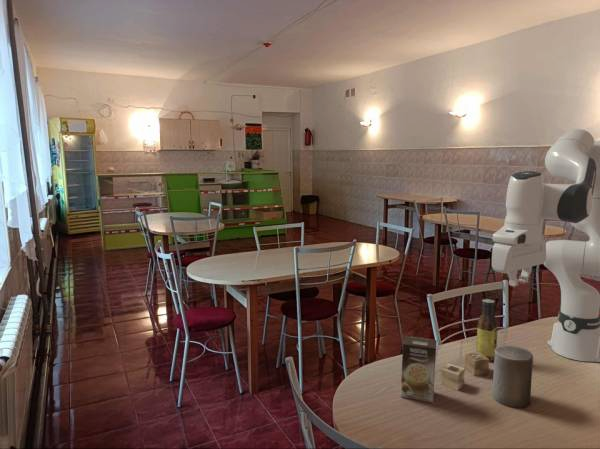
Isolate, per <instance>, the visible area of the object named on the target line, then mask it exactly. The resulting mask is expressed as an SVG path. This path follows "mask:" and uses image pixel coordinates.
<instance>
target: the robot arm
mask: <svg viewBox="0 0 600 449" xmlns="http://www.w3.org/2000/svg"><path fill="white" fill-rule="evenodd" d="M594 138H595V137H594V136H593V135H592V134H591V132H589V131H588V130H586V129H581V128H576V129H571V130H568V131H567V132H565V133H564V134H562V135H561V136H560V137H559V138H558V139H556V141H555V142H554V143H553V144H552V145H551V146H550V148H549V149H548V150H547V152H546V155H545V158H544V166H545V168H546V171H547V172H548V173H549V175H551V176H552V177H554V178H556V179H557V180H559V181H566V182H567V181H568V182H574V183H567V184H563V183H544V175H543V173H541V172H538V171H531V170H528V171H525V170H524V171H518V172H514V173H513V174H512V175H510V177H509V180H508V185H507V189H506V196H505V209H506V216H505V218H504V222H503V223H504V225H503V226H502V227H501V228H500V229H498V230H497V231H495V232H494V233H493V234H492V239H491V240H492V242H494V243H493V246H492V252H491V267H492V269H493V271H494V272H497V273H501V274H506V275H507V277H508V280H509V281H508V285H509V286H511V287H516V286H519V284H527V283H528V282H529V278H530V274H531V273H532V270H533V267H535V266H539V265H543V266H544V267H545V268H546V269H548V270H549V271H550V272H551V273H552V274H553V275H554V276H555V278H556V280H557V282H558V284H559V288H560V309H559V310H558V315H557V317H558V318H557V320H558V321H556V322H554V324H553V328H552V333H551V339H549V340H547V343H546V344H547V345H548V346H550V348H551V350H552V351H553V352H554V353H556V354H557V355H559V356H562V357H564V358H567V359H570V360H575V361H579V362H595V363H600V292H599V291H598V290H597V288H595V287H594V286H592V285H590V284H589V283H587V282H586V281H584V280H583V279H582V278H581V276H580V275H588V276H594V277H595V276H596V277H600V141H599V140H595V139H594ZM543 220H551V221H552V220H553V221H560V222H561V221H562V222H564V223H565V222H566V223H570V225H571V226H572V227H573V228H575V229H577V230H578V231H580V232H582V233H585V234H586V236H588V239H589V240H587V241H583V240H572V239H571V240H570V239H553V240H548V241H546V239H545V237H544V236H545V235H544V234H543V232H542V227H543ZM520 270H522V271H521V274H520V275H519V276H518V278H517V275H518V272H519V271H520Z"/></svg>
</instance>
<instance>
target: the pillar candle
mask: <svg viewBox="0 0 600 449" xmlns="http://www.w3.org/2000/svg"><path fill="white" fill-rule="evenodd" d="M533 361H534V356H533V353H532V352H531V351H529V350H528V349H525V348H522V347H519V346H514V345H499V346H497V347H496V348H495V355H494V360H493V375H492V376H493V377H492V380H493V381H492V397H493V399H494V400H495V401H496V402H498V403H500V404H502V405H503V406H506V407H510V408H518V409H520V408H521V409H522V408H528V406H530V405H531V393H532V392H531V391H532V381H533V380H532V378H533V377H532V376H533V363H534V362H533Z"/></svg>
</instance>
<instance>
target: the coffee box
mask: <svg viewBox="0 0 600 449" xmlns="http://www.w3.org/2000/svg"><path fill="white" fill-rule="evenodd" d="M436 355H437V340H436V339H433V338H431V339H430V338H427V337H419V336H412V335H406V334H405V335H404V337H403V342H402V355H401V356H402V358H401V359H402V360H401V380H400V395H399V396H400V397H402V398H407V399H410V400H412V399H413V400H416V401H422V402H428V403H434V392H435V391H434V390H435V374H436V360H437V359H436V358H437V357H436Z"/></svg>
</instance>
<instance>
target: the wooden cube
mask: <svg viewBox="0 0 600 449" xmlns="http://www.w3.org/2000/svg"><path fill="white" fill-rule="evenodd" d="M489 365H490V361H489V359H488V358H487V357H485V356H484V355H482V354H481V353H477V352H471V353H465V355H464V368H465V370H466V371H467V372H468V373H469V374H471V375H472V376H473V377H476V376H484V375H485V376H486V375H489V370H490V366H489Z"/></svg>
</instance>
